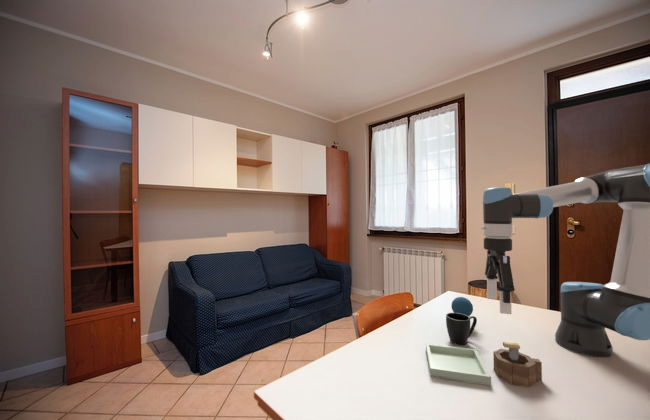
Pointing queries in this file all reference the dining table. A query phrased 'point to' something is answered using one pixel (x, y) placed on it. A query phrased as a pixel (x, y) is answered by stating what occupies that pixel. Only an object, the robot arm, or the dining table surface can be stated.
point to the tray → (457, 364)
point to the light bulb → (462, 306)
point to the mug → (459, 327)
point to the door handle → (513, 351)
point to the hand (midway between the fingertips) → (498, 305)
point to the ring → (517, 369)
